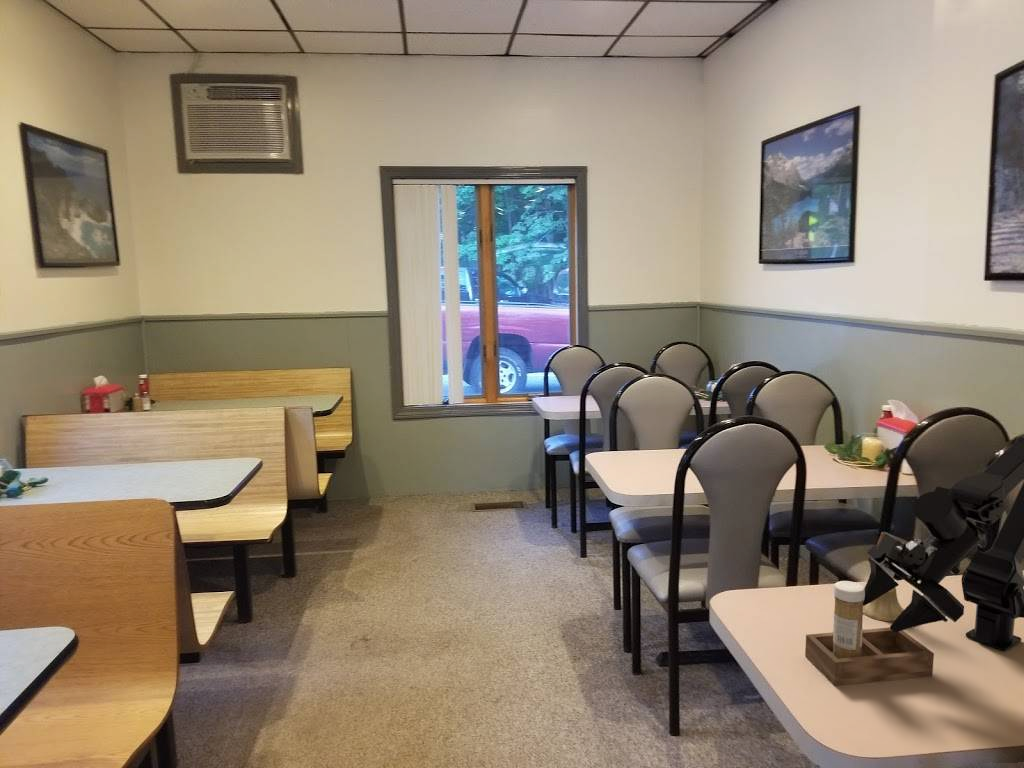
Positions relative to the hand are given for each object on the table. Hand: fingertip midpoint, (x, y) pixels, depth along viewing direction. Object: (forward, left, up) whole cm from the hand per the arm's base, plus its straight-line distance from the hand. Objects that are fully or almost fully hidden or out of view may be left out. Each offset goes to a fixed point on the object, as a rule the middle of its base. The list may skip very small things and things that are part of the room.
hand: (875, 616), depth 119 cm
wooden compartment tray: (+1, -1, -9) cm, 9 cm away
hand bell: (-20, -10, -9) cm, 24 cm away
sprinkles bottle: (+4, -2, -8) cm, 9 cm away
